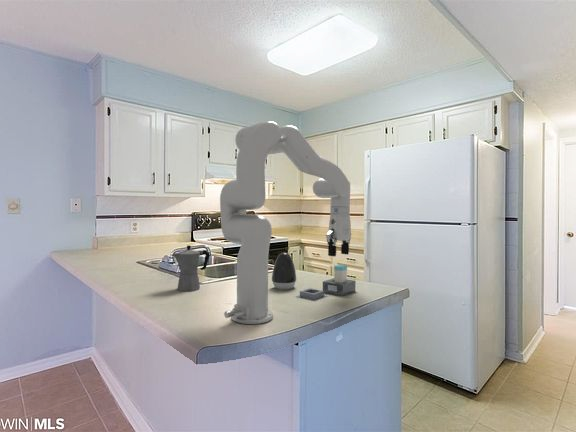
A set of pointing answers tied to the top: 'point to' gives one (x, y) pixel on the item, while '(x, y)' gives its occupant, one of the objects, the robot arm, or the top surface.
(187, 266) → the coffeepot
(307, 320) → the top surface
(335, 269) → the blue capped white bottle
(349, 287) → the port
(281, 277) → the dark egg-shaped speaker
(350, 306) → the top surface
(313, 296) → the grey square open box
